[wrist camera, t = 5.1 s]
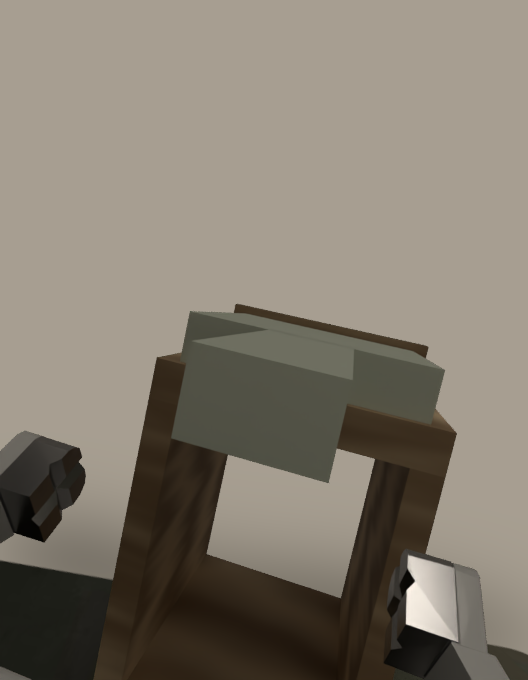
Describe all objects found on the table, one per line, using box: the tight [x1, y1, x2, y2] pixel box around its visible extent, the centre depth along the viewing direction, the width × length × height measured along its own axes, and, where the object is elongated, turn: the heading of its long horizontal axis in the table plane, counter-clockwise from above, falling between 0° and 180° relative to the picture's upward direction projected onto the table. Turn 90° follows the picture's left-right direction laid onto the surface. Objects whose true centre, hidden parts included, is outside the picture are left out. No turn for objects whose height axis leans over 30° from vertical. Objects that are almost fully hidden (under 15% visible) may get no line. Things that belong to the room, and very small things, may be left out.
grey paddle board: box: [171, 311, 445, 483], centre depth 22 cm, size 22×12×2 cm, turn 168°
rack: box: [94, 304, 457, 680], centre depth 29 cm, size 14×14×29 cm
